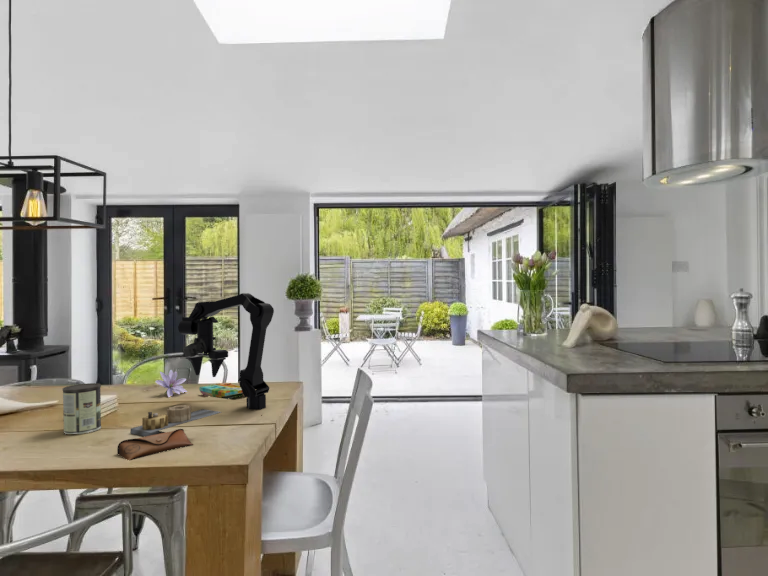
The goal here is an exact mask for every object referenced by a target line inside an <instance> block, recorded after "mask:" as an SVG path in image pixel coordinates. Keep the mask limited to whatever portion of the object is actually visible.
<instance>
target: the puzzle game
mask: <svg viewBox="0 0 768 576" xmlns="http://www.w3.org/2000/svg"><path fill="white" fill-rule="evenodd" d="M199 392H200V393H201V394H202V395H203V396H204V395H206V396H205V397H208V396H210V397H209V398H217V399H225V400H228V398H230V399H234V398H233V397H235V398H238V396H240V397H244V395H243V392H242V389H241V387H240V385H237V384H234V383H231V382H230V383H229V382H221V383H213V384H209V385H204V386H199Z"/></svg>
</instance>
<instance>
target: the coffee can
mask: <svg viewBox="0 0 768 576" xmlns="http://www.w3.org/2000/svg"><path fill="white" fill-rule="evenodd" d="M101 388H102V384H101V383H99V382H98V383H95V382H91V383H81V384H73V385H69V386H65V387H63V388H62V400H63V402H62V404H63V405H62V406H63V407H62V409H63V410H62V411H63V412H62V413H63V432H64V433H65V434H64V433H63V434H64V435H66V434H79V435H85V434H84V433H86V434H90V433H94V432H97V431H98V430H99V431H100V430H101V429H102V415H101V414H102V412H101V411H102V408H101V407H102V406H101V405H102V404H101V397H102V396H101ZM89 432H90V433H89Z"/></svg>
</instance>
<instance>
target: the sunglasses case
mask: <svg viewBox="0 0 768 576" xmlns="http://www.w3.org/2000/svg"><path fill="white" fill-rule="evenodd" d="M165 432H166V433H161V434H156V435H151V436H146V437H145V436H141V437H137V438H129V439H124V440H122V441H120V442H119V444H118V445H117V447H116V448H117V451H116V452H117V455H118V454H119V455H118V456H119V457H121V456H122V457H121V458H123V457H124V458H125V459H124V458H123V459H124V460H126V459H127V461H128V460H129V461H132V460H136V459H140V458H143V457H147V456H151V455H155V454H159V452H160V453H164V452H163V451H165V452H167V450H169V451H172V450H171V449H173V450H176V449H175V448H177V449H181V448H180V447H182V448H185V446H186V447H190V446H194V443H191V440H189V438H188V436H187V435H186V433H185V431H184V429H183V428H178V429H175V430H172V431H165Z"/></svg>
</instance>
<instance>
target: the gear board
mask: <svg viewBox="0 0 768 576" xmlns="http://www.w3.org/2000/svg"><path fill="white" fill-rule="evenodd" d="M221 413H222V411H218V410H211V409H205V408H202V409H197V410H194V411H191V418H190V420H187V421H184V422H175V423H172V422H168V416H167V413H166V414H165V413H164V414H162V413H161V414H160V413H158V412H154V413H153V412H152V411H149V412H147V416H145V417H142V422H141V423H142V425H140V426H139V425H138V426H135V427H132V428H130V434H132V435H135V436H136V435H137V436H140V437H146V436H151V435H156V434H161V433H166V432H167V431H163V430H166V429H168V428H172V427H176V426H180V425H182V424H186V423H190V422H193V421H198V420H200V419H203V418H207V417H211V416H214V415H218V414H221Z"/></svg>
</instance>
